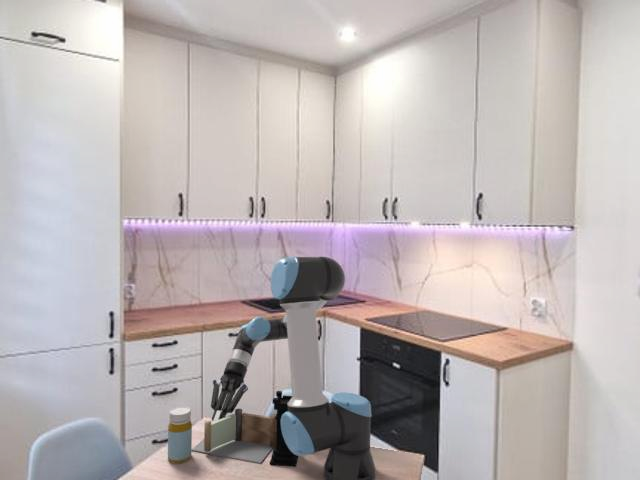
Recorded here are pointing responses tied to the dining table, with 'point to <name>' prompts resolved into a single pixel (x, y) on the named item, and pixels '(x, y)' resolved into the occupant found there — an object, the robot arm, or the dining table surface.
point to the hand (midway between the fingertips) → (213, 431)
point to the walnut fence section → (256, 428)
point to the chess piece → (281, 450)
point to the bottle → (179, 435)
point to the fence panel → (219, 432)
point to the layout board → (238, 450)
